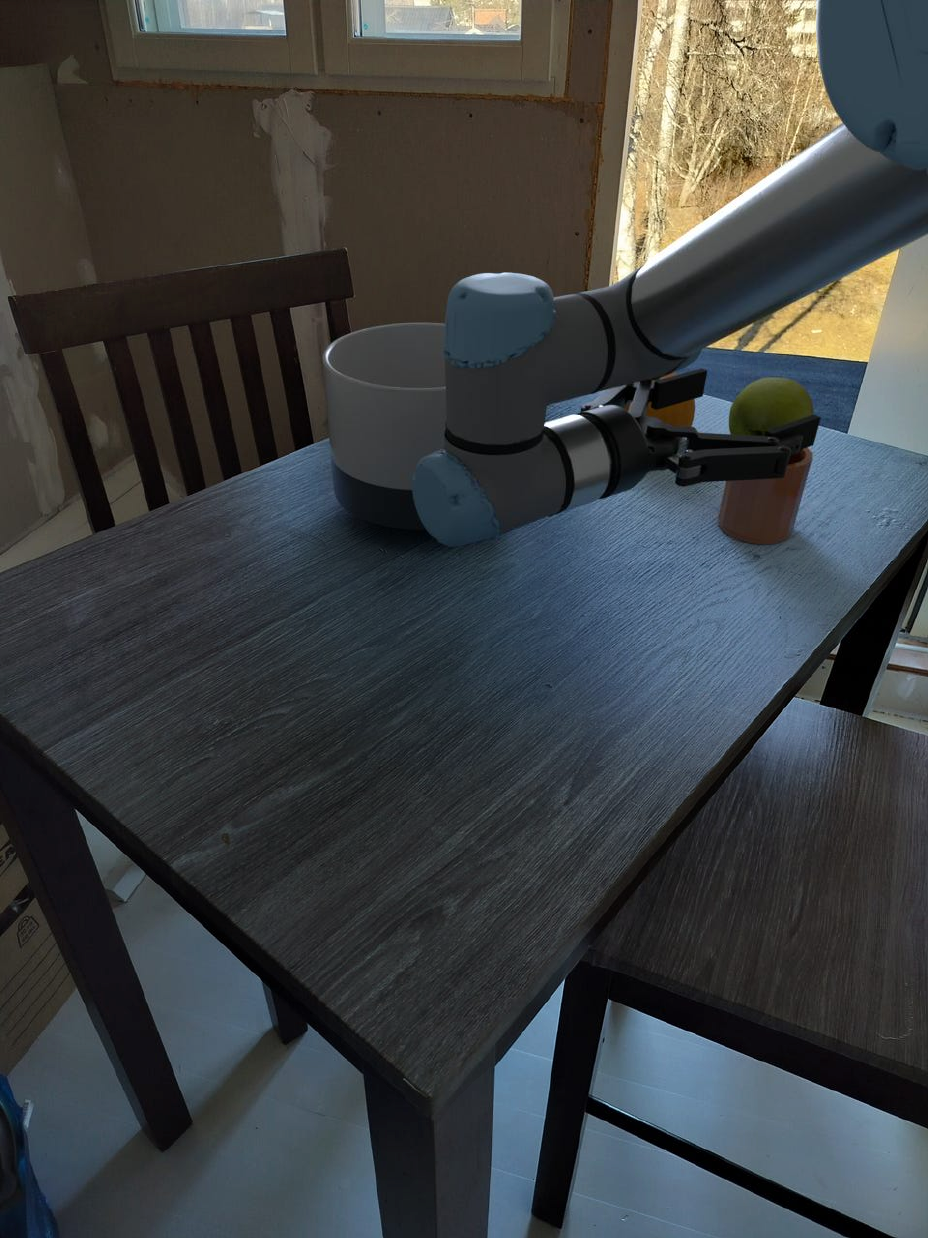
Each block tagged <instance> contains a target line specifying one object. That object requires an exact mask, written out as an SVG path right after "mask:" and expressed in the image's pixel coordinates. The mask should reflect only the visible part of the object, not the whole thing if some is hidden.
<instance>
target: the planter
mask: <svg viewBox="0 0 928 1238" xmlns="http://www.w3.org/2000/svg"><path fill="white" fill-rule="evenodd" d="M444 331H445V323H440V322H439V323H437V322H403V323H401V322H400V323H391V324H384V325H377V326H371V327H367V328H363V329H359V330H356V331H353V332H350V333H347V334H345V335H343V336H341V337H339V338H337V339H335V340H333V341H332V342H331V343H329V345H327V346H326V348H325V349H324V351H323V353H322V358H321V362H322V373H323V384H324V395H325V396H324V397H325V407H326V417H327V418H326V419H327V428H328V439H329V450H330V451H329V452H330V463H331V474H332V484H333V493H334V495H335V498H336V500H337V502H338V503H339V504H340V506H341V507H342V508H343V509H345V510H346V511H347V512H348V513H350V514H351V515H353V516H355V517H356V518H359V519H361V520H362V521H366V522H368V523H371V524H374V525H378V526H382V527H387V528H393V529H399V530H400V529H401V530H410V531H427V530H426V528H425V527H424V525H423V523H422V521H421V520H420V517H419V515H418V513H417V510H416V507H415V503H414V499H413V493H412V477H413V474H414V473H415V472H416V465H417V463H418V462H419V461H420V460H421V459H422V458H424V457H426V456H428V455H430V454H433V452H435V451H439V450H440V449H444V431H445V429H446V426H445V424H446V420H447V412H446V381H445V355H444V353H443V352H444V349H443V344H444Z"/></svg>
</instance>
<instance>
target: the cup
mask: <svg viewBox="0 0 928 1238" xmlns="http://www.w3.org/2000/svg"><path fill="white" fill-rule="evenodd" d="M813 455H814V454H813V452H812V450H811V449H810V447H807V448H804V449H802V450H800V451H799V452H798V453H797V454H794V455H792V456H790V457H789V461H788V465H787V469H786V473H785V476H784V477H783V478H775V479H756V480H736V481H725V484H724V488H723V493H722V497H721V503H720V507H719V511H718V516H717V524H718V527H719V528H720V530H721V531H722V532H724V533H725V534H726V535H728V536H729V537H730V538H733V539H735V540H738V541H741V542H744V543H748V544H753V545H775V544H780V543H782V542H785V541H787V540H788V539H789V538H790V537H791V535H792V534H793V533H792V532H793V530H794V526H795V523H796V521H797V516H798V513H799V509H800V505H801V502H802V498H803V495H804V491H805V488H806V484H807V480H808V477H809V474H810V469H811V466H812V462H813Z"/></svg>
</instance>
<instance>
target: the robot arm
mask: <svg viewBox="0 0 928 1238" xmlns="http://www.w3.org/2000/svg"><path fill="white" fill-rule="evenodd" d="M816 1H817V2H816V12H815V13H816V15H815V34H816V36H815V37H816V48H817V57H818V63H819V64H818V65H819V70H820V74H821V77H822V82H823V85H824V88H825V92H826V95H827V97H828V99H829V101H830V103H831V106H832V108H833V110H834V112H835V113H836V115H837V116H838V118H839V119H840V121H841V122H842V123H841V124H839V125H838V126H836V127H835V128H834V129H832V130H830V131H829V132H828V133H826V134H825V135H824V136H822V137H821V138H819V139H817V140H816V141H815V142H813V143H812V144H811V145H809V146H808V147H806V148H805V149H804V150H802V151H801V152H799V153H798V154H797V155H795V156H794V157H792V158H791V159H790V160H788V161H787V162H786V163H784V164H782V165H781V166H780V167H778V168H777V169H776V170H774V171H773V172H771V173H770V174H768V175H767V176H766V177H764V178H763V179H761V180H760V181H758V182H757V183H755V185H753V186H752V187H750V188H749V189H747V190H746V191H744V192H743V193H742V194H740V195H739V196H738V197H735V198H734V199H733V200H732V201H731V202H728V204H726V205H725V206H723V207H722V208H721V209H719V210H717V211H716V212H715V213H714V214H712V215H711V216H709V217H707V218H706V219H705V220H704V221H702V222H701V223H699V224H698V225H696V226H695V227H694V228H692V229H691V230H689V231H688V232H687V233H685V234H684V235H683V236H681V237H679V238H678V239H677V240H675V241H674V242H673V243H671V244H670V245H668V246H667V247H666V248H664V249H662V250H661V251H660V252H658V253H657V254H656V255H654V256H653V257H651V258H649V260H646V262H645V263H643V264H642V265H641V266H640V267H638V268H637V269H635V270H634V271H632V272H630V274H627V275H626V276H625V277H624V278H622V279H621V280H619V281H617V282H616V283H613V284H610V285H608V286H606V287H601V288H596V289H592V290H587V291H581V292H575V293H572V294H565V295H560V296H554V292H553V290H552V288H551V287H550V285H549V284H548V283H547V282H545V281H544V280H542V279H540V278H538V277H536V276H532V275H528V274H523V273H516V272H501V273H494V272H483V273H477V274H473V275H470V276H468V277H465V278H462V279H461V280H459V281H458V282H457V283H456V284H454V286H453V287H452V288H451V289H450V292H449V293H448V297H447V300H446V301H447V302H446V311H445V319H444V324H445V331H444V344H443V349H444V352H443V353H444V355H445V381H446V412H447V420H446V424H445V426H446V429H445V431H444V449H440V450H439V451H435V452H433V454H430V455H428V456H426V457H424V458H422V459H421V460H420V461H419V462H418V463H417V465H416V472H415V473H414V474H413V477H412V493H413V499H414V503H415V507H416V510H417V513H418V515H419V517H420V520H421V521H422V523H423V525H424V527H425V528H426V530H425V531H427V533H429V535H430V536H431V537H432V538H435V539H436V541H437V542H438V543H440V544H442V545H444V546H446V547H449V548H458V547H459V548H460V547H462V546H466V545H469V544H473V543H477V542H480V541H484V540H495V539H496V538H498V537H499V536H501V535H504V534H507V533H509V532H512V531H515V530H518V529H519V528H522V527H524V526H527V525H529V524H532V523H535V522H537V521H540V520H542V519H544V518H547V517H548V518H551V517H553V516H556V515H559V514H561V513H563V512H567V511H569V510H572V509H576V508H578V507H582V506H584V505H587V504H591V503H593V502H595V501H598V500H604V499H607V498H609V497H613V496H615V495H618V494H622V493H624V492H627V491H629V490H632V489H634V488H635V487H636V486H637V485H638V484H639V483H641V481H642V480H643V479H644V478H645V477H646V476H647V475H648V474H649V473H650V472H651V473H652V472H661V471H667V470H668V471H670V472H671V473H673V474H675V479H674V485H676V486H677V487H682V488H685V487H690V486H693V485H697V484H701V483H714V482H715V483H716V482H717V483H718V482H726V481H736V480H756V479H775V478H783V477H784V476H785V473H786V469H787V465H788V461H789V457H790V456H792V455H794V454H797V453H798V452H799V451H800V450H802V449H804V448H807V447H808V448H810V447H812V446H814V444H815V441H816V437H817V434H818V433H817V432H818V430H819V425H820V422H821V419H822V417H821V416H819V415H816V414H813V415H811V416H808V417H805V418H802V419H799V420H796V421H793V422H790V423H787V424H784V425H781V426H778V427H775V428H772V429H769V430H767V431H765V435H764V436H750V435H732V434H730V433H712V432H699V431H698V430H697V428H696V427H694V426H691V427H687V426H672V425H669V424H666V423H664V422H662V421H661V420H660V419H658V418H656V417H652V418H651V417H647V416H646V412H647V409H648V404H649V402H652V403H651V408H653V409H655V410H658V409H662V408H665V407H669V406H672V405H675V404H679V403H682V402H686V401H689V400H692V399H694V400H695V399H699V398H702V397H704V391H705V386H706V379H707V377H708V370H707V369H705V368H703V367H702V368H697V369H693V370H691V371H690V370H689V371H686V372H683V373H679V374H677V375H676V376H672V377H668V378H665V379H661V380H657V381H655V382H652V380H655V379H659V378H661V377H664V376H667V375H669V374H672V373H676V372H678V371H680V370H683V369H686V368H687V367H689V366H690V365H693V364H694V362H696V360H697V359H698V358H699V356H700V354H701V353H702V351H703V349H705V348H708V347H709V346H711V345H713V344H715V343H717V342H720V341H721V340H723V339H725V338H727V337H729V336H731V335H732V334H735V333H736V332H739V331H740V330H743V329H745V328H746V327H748V326H750V325H752V324H755V323H756V322H758V321H760V320H762V319H764V318H766V317H768V316H770V315H772V314H774V313H776V312H778V311H781V310H783V309H784V308H786V307H788V306H790V305H792V304H794V303H795V302H798V301H800V300H802V299H803V298H806V297H807V296H809V295H811V294H814V293H815V292H817V291H819V290H821V289H823V288H826V287H827V286H829V285H832V284H834V283H835V282H838V281H839V280H841V279H843V278H844V277H847V276H848V275H851V274H853V273H855V272H857V271H859V270H861V269H862V268H864V267H867V266H868V265H870V264H872V263H874V262H877V261H878V260H881V259H882V258H884V257H886V256H888V255H890V254H892V253H894V252H896V251H897V250H900V249H903V248H904V247H906V246H908V245H909V244H912V243H913V242H916V241H918V240H919V239H921V238H923V237H926V236H928V0H816ZM635 382H639V383H635ZM603 391H604V392H603ZM599 392H603V393H602V394H600V395H599V396H598V397H597V398H596V399H594V400H592V401H589V402H586V403H583V404H581V406H580V412H578V413H576V414H569V415H565V416H562V417H559V418H556V419H551V420H549V421H546V418H547V417H546V416H547V409H548V407H549V406H550V405H555V404H559V403H562V402H565V401H566V402H567V401H570V400H573V399H578V398H581V397H584V396H589V395H595V394H596V393H599ZM631 401H633V402H632V403H631ZM629 403H631V405H630V409H629V410H628V411H627V410H625V409H624V408H625V407H626V406H627V405H628V404H629ZM681 437H683V439H685V438H686V439H685V440H686V441H685V446H684V452H683V453H681V454H680V455H678V453H679V450H680V445H681V440H682V439H681ZM680 439H681V440H680Z"/></svg>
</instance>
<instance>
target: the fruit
mask: <svg viewBox="0 0 928 1238" xmlns="http://www.w3.org/2000/svg"><path fill="white" fill-rule="evenodd" d="M676 375H678V374H677V373H676V372H674V373H672V374H669V375H667V376H664V377H661V378H659V379H655V380H652V382H655V381H657V380H661V379H665V378H668V377H672V376H676ZM635 383H639V382H635ZM632 402H633V401H631V403H632ZM631 403H629V404H628V405H627V406H626V407H625V408H624V409H625V410H627V411H628V410H629V409H630V405H631ZM651 403H652V402H649V404H648V409H647V412H646V416H647V417H651V418H652V417H656V418H658V419H660V420H661V421H662V422H664V423H666V424H669V425H672V426H687V427H693V424H694V420H695V414H696V401H695V399H692V400H689V401H686V402H682V403H679V404H675V405H672V406H669V407H665V408H662V409H658V410H655V409H653V408H651ZM682 439H684V437H681V439H680V441H681V440H682Z"/></svg>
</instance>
